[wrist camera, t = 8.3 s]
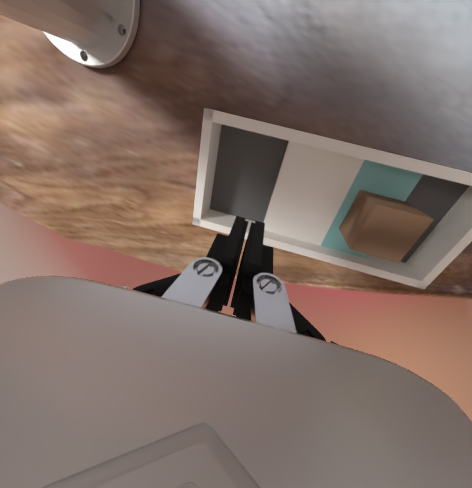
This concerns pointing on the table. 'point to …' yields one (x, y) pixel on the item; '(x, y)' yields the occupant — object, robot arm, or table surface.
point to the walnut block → (382, 226)
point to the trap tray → (325, 194)
